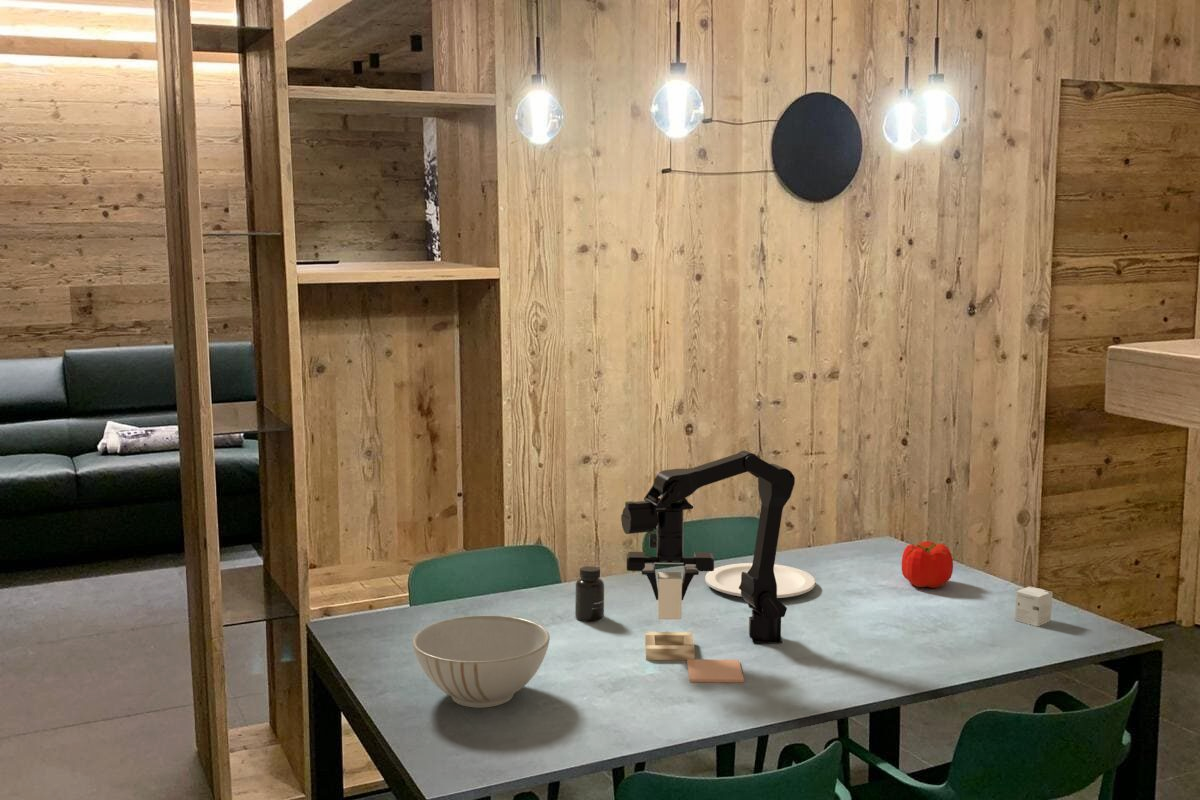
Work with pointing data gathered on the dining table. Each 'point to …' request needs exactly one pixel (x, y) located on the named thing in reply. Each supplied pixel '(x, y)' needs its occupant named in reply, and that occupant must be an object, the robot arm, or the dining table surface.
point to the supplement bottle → (589, 595)
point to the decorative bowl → (481, 657)
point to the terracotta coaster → (714, 671)
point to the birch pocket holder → (669, 646)
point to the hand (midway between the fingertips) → (669, 599)
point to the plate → (786, 577)
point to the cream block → (669, 595)
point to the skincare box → (1033, 606)
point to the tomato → (927, 564)
